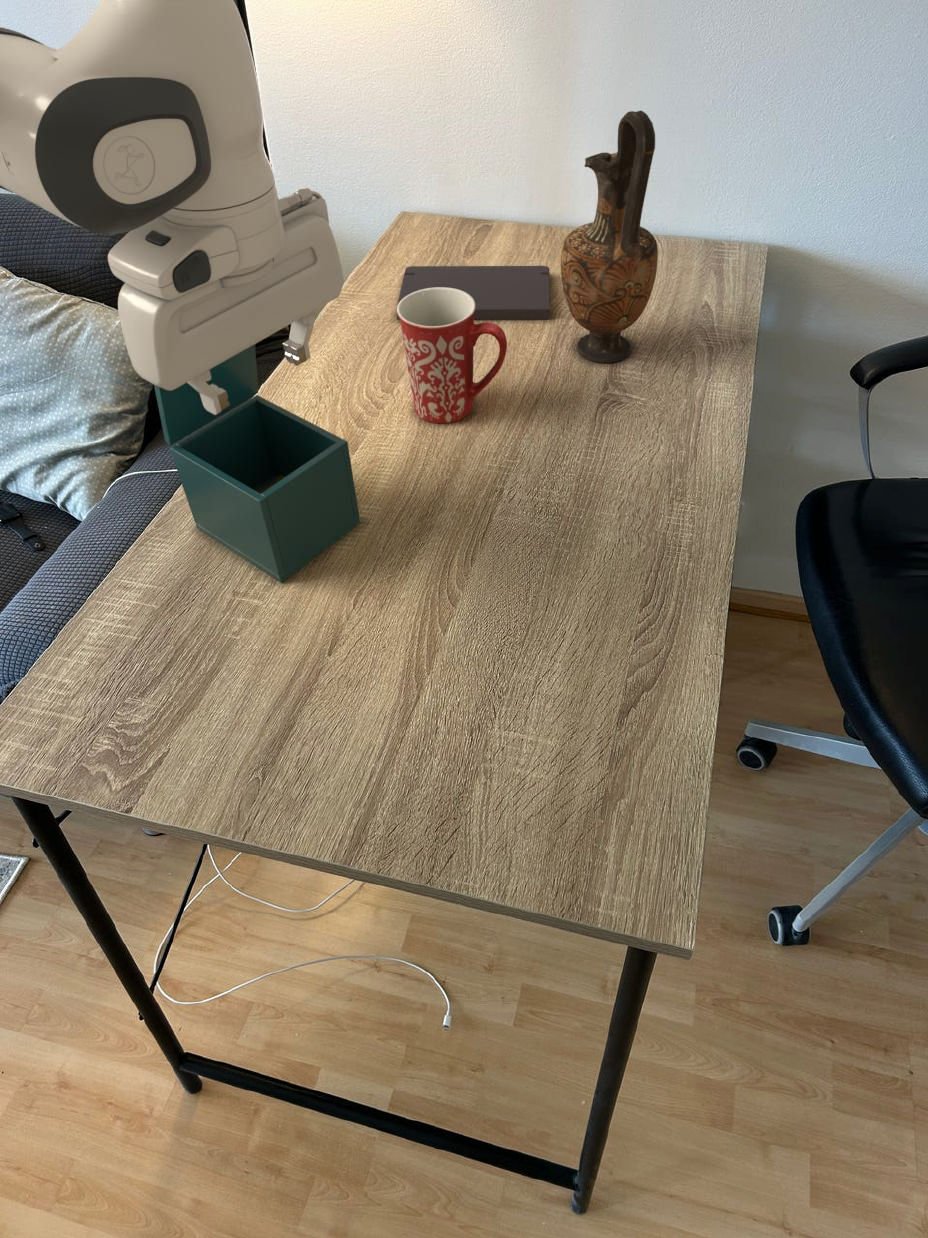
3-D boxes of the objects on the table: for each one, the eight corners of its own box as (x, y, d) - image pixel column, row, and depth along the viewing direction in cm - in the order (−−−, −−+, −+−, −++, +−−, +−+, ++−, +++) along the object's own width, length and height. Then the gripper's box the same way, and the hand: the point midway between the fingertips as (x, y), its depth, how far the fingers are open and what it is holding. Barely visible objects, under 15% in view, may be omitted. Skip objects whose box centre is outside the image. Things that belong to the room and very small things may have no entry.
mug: (395, 422, 109) (384, 320, 99) (420, 382, 115) (412, 281, 105) (494, 438, 106) (493, 335, 96) (515, 396, 112) (516, 295, 102)
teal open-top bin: (360, 523, 97) (347, 441, 89) (281, 583, 91) (259, 501, 83) (276, 474, 103) (256, 394, 95) (196, 528, 97) (169, 447, 89)
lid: (249, 273, 83) (211, 246, 84) (147, 325, 77) (108, 296, 78) (258, 392, 95) (225, 367, 96) (170, 445, 89) (136, 418, 90)
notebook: (397, 319, 126) (549, 319, 124) (395, 308, 124) (549, 308, 123) (406, 275, 134) (549, 275, 133) (405, 265, 133) (549, 265, 132)
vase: (623, 320, 123) (648, 76, 101) (664, 366, 115) (701, 112, 93) (543, 336, 121) (552, 91, 99) (580, 385, 113) (598, 129, 91)
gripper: (294, 171, 75) (319, 323, 85) (87, 263, 64) (143, 425, 74) (349, 189, 72) (367, 344, 82) (141, 288, 61) (191, 453, 72)
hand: (259, 384), depth 78 cm, fingers open, 8 cm apart
